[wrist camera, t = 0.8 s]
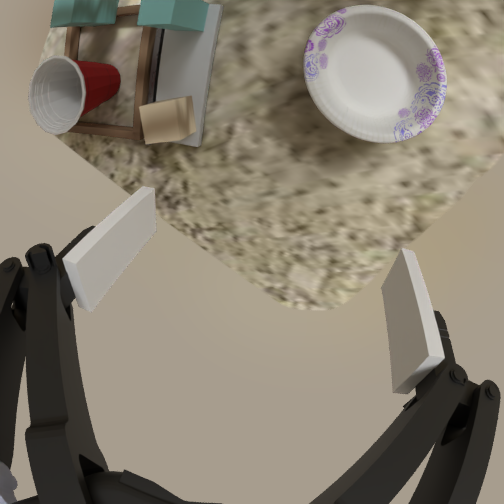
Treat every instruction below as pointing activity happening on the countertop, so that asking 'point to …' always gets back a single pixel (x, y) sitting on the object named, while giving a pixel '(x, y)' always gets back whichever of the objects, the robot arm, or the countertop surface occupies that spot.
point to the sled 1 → (73, 17)
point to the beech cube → (168, 120)
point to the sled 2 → (185, 52)
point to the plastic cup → (69, 91)
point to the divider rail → (155, 66)
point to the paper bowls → (375, 73)
